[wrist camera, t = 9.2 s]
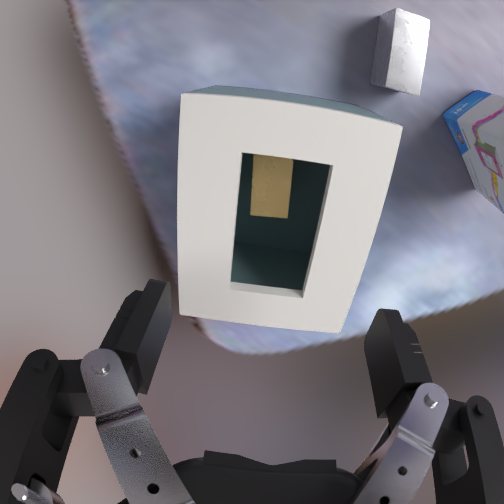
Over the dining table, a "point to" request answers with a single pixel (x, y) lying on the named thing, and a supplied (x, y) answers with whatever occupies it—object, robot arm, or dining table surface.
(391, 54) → the grey rectangular block
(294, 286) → the box
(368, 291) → the dining table surface
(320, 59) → the dining table surface
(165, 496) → the robot arm
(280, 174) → the block
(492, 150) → the ink box
